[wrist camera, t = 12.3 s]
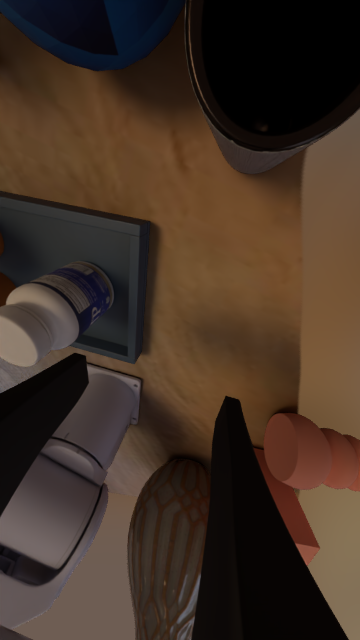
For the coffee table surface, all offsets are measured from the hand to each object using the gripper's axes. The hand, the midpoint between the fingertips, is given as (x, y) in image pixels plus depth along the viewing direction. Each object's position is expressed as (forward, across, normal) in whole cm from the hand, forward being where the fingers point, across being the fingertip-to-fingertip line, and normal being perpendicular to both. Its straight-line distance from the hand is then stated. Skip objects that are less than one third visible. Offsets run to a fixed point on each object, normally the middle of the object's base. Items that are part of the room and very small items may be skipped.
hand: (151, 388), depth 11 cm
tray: (+10, +14, +1) cm, 18 cm away
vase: (+10, -5, +30) cm, 32 cm away
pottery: (+5, -11, +17) cm, 21 cm away
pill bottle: (+10, +10, +1) cm, 14 cm away
